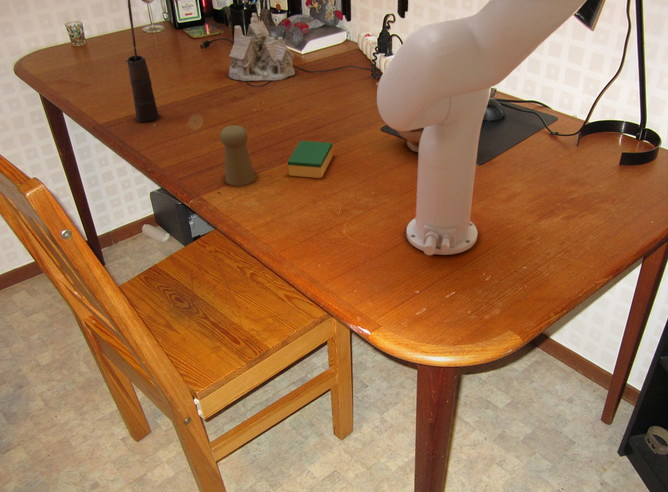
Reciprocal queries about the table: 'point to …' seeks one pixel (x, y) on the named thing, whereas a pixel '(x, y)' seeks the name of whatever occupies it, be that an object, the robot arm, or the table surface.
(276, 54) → the ceramic cottage
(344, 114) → the table surface
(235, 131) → the pawn
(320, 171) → the sponge
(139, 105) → the butter churn
